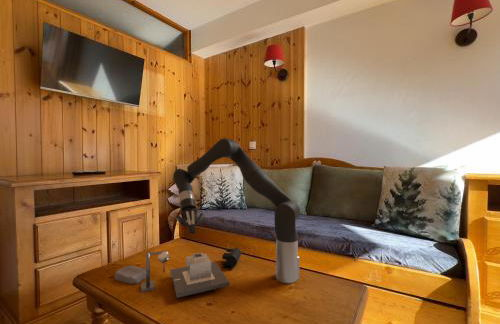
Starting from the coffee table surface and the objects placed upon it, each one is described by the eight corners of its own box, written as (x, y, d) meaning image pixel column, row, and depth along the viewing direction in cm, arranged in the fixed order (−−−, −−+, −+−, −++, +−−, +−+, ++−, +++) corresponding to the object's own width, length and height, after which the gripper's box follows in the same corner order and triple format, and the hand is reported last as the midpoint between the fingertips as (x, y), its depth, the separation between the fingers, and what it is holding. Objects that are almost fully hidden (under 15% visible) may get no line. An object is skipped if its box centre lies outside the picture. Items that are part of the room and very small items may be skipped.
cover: (205, 269, 106) (205, 249, 106) (211, 278, 98) (211, 257, 98) (186, 273, 102) (186, 253, 102) (190, 282, 95) (190, 261, 94)
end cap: (236, 270, 113) (236, 255, 113) (222, 268, 114) (222, 254, 114) (241, 260, 123) (241, 247, 123) (227, 259, 124) (227, 246, 124)
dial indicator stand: (168, 280, 103) (168, 247, 103) (170, 286, 98) (170, 251, 98) (141, 286, 98) (141, 251, 98) (141, 292, 94) (141, 256, 94)
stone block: (130, 274, 112) (112, 280, 103) (132, 263, 112) (114, 268, 103) (151, 280, 108) (133, 287, 98) (153, 269, 108) (135, 274, 99)
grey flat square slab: (214, 264, 114) (214, 261, 114) (229, 285, 96) (229, 281, 96) (170, 272, 106) (170, 269, 105) (176, 297, 87) (176, 293, 87)
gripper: (174, 198, 116) (178, 231, 105) (201, 196, 122) (208, 227, 111) (172, 207, 121) (176, 239, 110) (199, 205, 127) (205, 235, 116)
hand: (192, 233), depth 111 cm, fingers closed
